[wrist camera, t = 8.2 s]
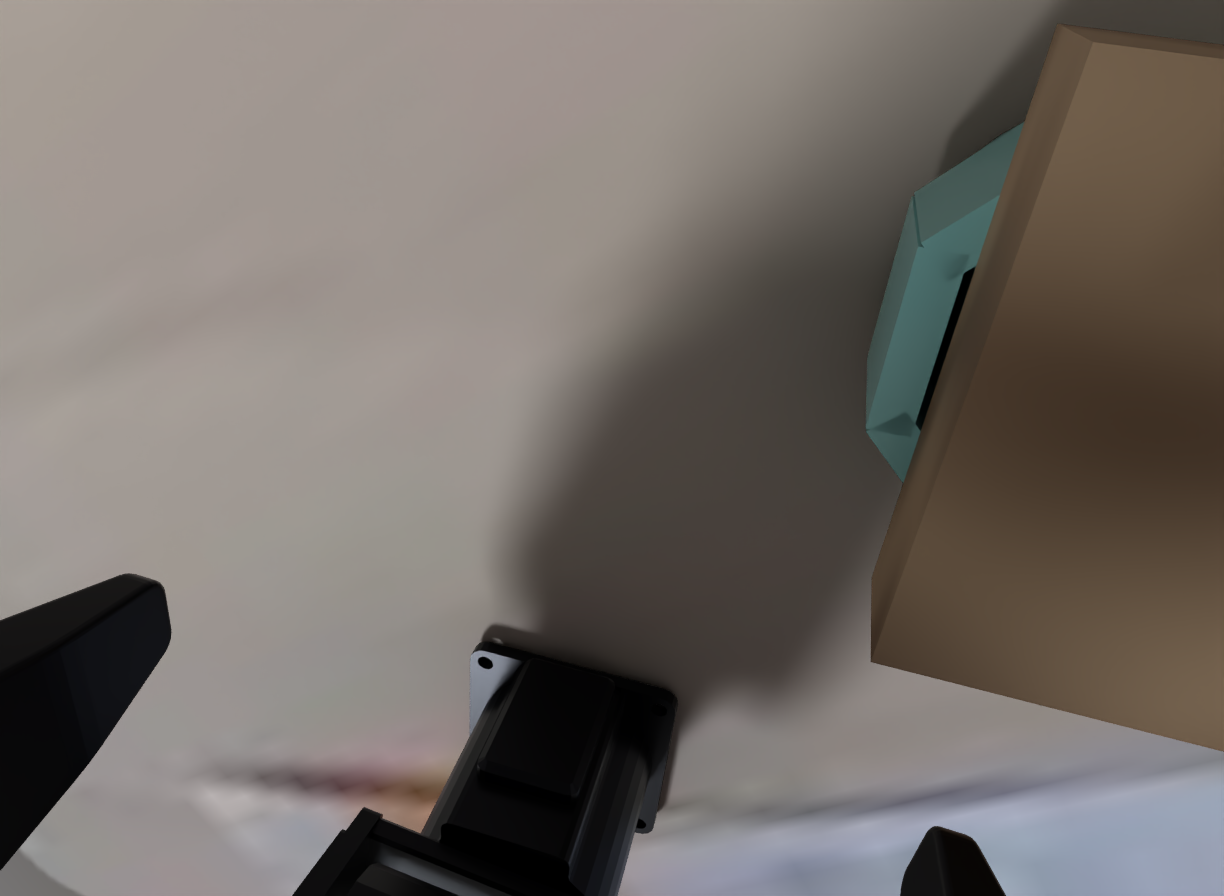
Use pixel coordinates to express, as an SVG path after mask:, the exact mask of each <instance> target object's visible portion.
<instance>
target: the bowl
mask: <svg viewBox="0 0 1224 896" xmlns="http://www.w3.org/2000/svg"><path fill="white" fill-rule="evenodd" d="M1024 122H1025V121H1024ZM1024 122H1023V123H1021V124H1019V125H1017V126H1016V127H1014V128H1012V129H1010V130H1009V131H1007V132H1005V133H1003V134H1002V135H1000V136H998V137H997V138H996V139H994V140H993V141H992V142H990V143H989V144H987V145H986V146H985V147H983V148H982V149H981V150H979V151H978V152H976V153H975V154H974V155H972V156H970V157H969V158H967V159H966V160H964V161H963V162H961V163H960V164H958V165H956V166H955V167H953V168H952V169H950V170H949V171H947V172H946V173H944V174H942V175H941V176H939V177H938V178H936V179H935V180H933V181H932V182H930V183H929V184H927V185H925V186H924V187H922V188H921V189H919V190H918V191H916V192H915V193H914V195H915V196H912V197H911V200H910V204H909V208H908V211H907V215H906V218H905V222H904V226H903V229H902V233H901V236H900V240H899V244H898V247H897V251H896V255H895V258H894V262H893V265H892V269H891V273H890V276H889V280H888V283H887V287H886V291H885V294H884V298H883V302H882V305H881V309H880V312H879V316H878V320H877V323H876V327H875V330H874V334H873V338H872V341H871V345H870V349H869V352H868V356H867V388H866V425H865V428H866V432H867V434H868V435H869V437H870V438H871V439H872V441H873V442H874V444H875V445H876V446H877V448H878V449H879V451H880V452H881V453H882V455H883V456H884V458H885V459H886V460H887V462H888V463H889V464H890V466H891V467H892V469H893V470H894V471H895V473H896V474H897V476H898V477H899V478H900V480H901V481H902V483H904V480H905V477H906V474H907V471H908V468H909V465H910V462H911V459H912V456H913V453H914V450H915V447H916V444H917V441H918V438H919V435H920V432H921V429H922V426H923V423H924V420H925V417H926V414H927V411H928V408H929V405H930V402H931V399H932V396H933V393H934V390H935V387H936V384H937V381H938V378H939V375H940V372H941V369H942V366H943V363H944V360H945V357H946V354H947V351H948V348H949V346H950V343H951V340H952V337H953V334H954V331H955V328H956V325H957V322H958V319H959V316H960V313H961V310H962V307H963V304H964V301H965V298H966V295H967V292H968V289H969V286H970V283H971V280H972V277H973V274H974V271H975V268H976V265H977V262H978V259H979V256H980V253H981V250H982V247H983V244H984V241H985V238H986V235H987V232H988V229H989V226H990V223H991V220H992V217H993V214H994V211H995V208H996V205H997V202H998V199H999V196H1000V193H1001V190H1002V187H1003V184H1004V181H1005V178H1006V175H1007V172H1008V170H1009V167H1010V164H1011V161H1012V158H1013V155H1014V152H1015V149H1016V146H1017V143H1018V140H1019V137H1020V134H1021V131H1022V128H1023V125H1024Z"/></svg>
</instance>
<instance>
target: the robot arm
mask: <svg viewBox="0 0 1224 896" xmlns="http://www.w3.org/2000/svg"><path fill="white" fill-rule="evenodd" d="M170 639H171V624H170V618H169V612H168V606H167V600H166V594H165V590H164V587H163V586H162V585H161V583H160V582H158V581H156V580H153V579H149V578H146V577H143V576H140V575H137V574H130V573H128V574H122V575H119V576H116V577H114V578H111V579H108V580H106V581H103V582H100V583H98V584H95V585H92V586H90V587H87V588H85V589H82V590H79V591H77V592H74V593H71V594H69V595H66V596H63V597H61V598H58V599H55V600H53V601H50V602H47V603H45V604H42V605H39V606H37V607H34V608H32V609H29V610H26V611H24V612H21V613H18V614H16V615H13V616H10V617H8V618H5V619H2V620H0V870H1V869H2V868H3V867H4V866H5V864H6V863H7V862H8V861H9V860H10V858H11V857H12V856H13V855H14V854H15V852H16V851H17V850H18V849H19V848H20V846H21V845H22V844H23V843H24V842H25V840H26V839H27V838H28V837H29V836H30V834H31V833H32V832H33V831H34V830H35V828H36V827H37V826H38V825H39V824H40V822H41V821H42V820H43V819H44V817H45V816H46V815H47V814H48V813H49V811H50V810H51V809H52V808H53V807H54V805H55V804H56V803H57V802H58V801H59V799H60V798H61V797H62V796H63V795H64V793H65V792H66V791H67V790H68V789H69V787H70V786H71V785H72V784H73V783H74V781H75V780H76V779H77V778H78V776H79V775H80V774H81V773H82V771H83V770H84V769H85V768H86V766H87V765H88V764H89V762H90V761H91V760H92V758H93V757H94V756H95V754H96V753H97V751H98V750H99V749H100V747H101V746H102V745H103V743H104V742H105V740H106V739H107V737H108V736H109V734H110V733H111V731H112V730H113V728H114V727H115V725H116V724H117V723H118V721H119V720H120V718H121V717H122V715H123V714H124V712H125V711H126V709H127V708H128V706H129V705H130V703H131V702H132V700H133V699H134V698H135V696H136V695H137V693H138V692H139V690H140V689H141V687H142V686H143V684H144V683H145V681H146V680H147V678H148V677H149V675H150V674H151V672H152V671H153V670H154V668H155V667H156V665H157V664H158V662H159V661H160V659H161V658H162V656H163V655H164V653H165V652H166V650H167V648H168V645H169V643H170ZM486 657H487V658H489V659H490V660H489V659H487V658H486ZM657 704H661V705H663V706H659V705H657ZM677 706H678V701H677V698H676V697H675V695H674V694H673V693H671V692H670V691H668V690H666V689H663V688H660V687H656V686H652V685H648V684H645V683H641V682H637V681H633V680H630V679H626V678H622V677H618V676H615V675H611V674H607V673H603V672H600V671H596V670H592V669H588V668H585V667H581V666H577V665H573V664H569V663H566V662H562V661H558V660H554V659H551V658H547V657H543V656H539V655H536V654H532V653H528V652H524V651H521V650H517V649H513V648H509V647H506V646H502V645H498V644H494V643H491V642H482V643H479V644H478V645H477V646H476V648H475V650H474V651H473V653H472V655H471V658H470V737H469V739H468V741H467V743H466V745H465V747H464V749H463V751H462V753H461V755H460V757H459V759H458V761H457V763H456V765H455V767H454V769H453V771H452V773H451V775H450V777H449V779H448V781H447V783H446V785H445V786H444V788H443V790H442V792H441V794H440V796H439V798H438V800H437V802H436V804H435V806H434V808H433V810H432V812H431V814H430V816H429V818H428V820H427V822H426V824H425V826H424V828H423V830H422V832H421V834H420V833H418V832H415V831H413V830H410V829H408V828H405V827H403V826H400V825H398V824H395V823H393V822H390V821H388V820H385V819H383V818H382V817H383V814H380V813H378V812H375V811H373V810H370V809H368V808H365V807H364V808H363V809H362V810H361V811H360V813H359V814H358V815H357V817H356V818H355V819H354V821H353V822H352V823H351V825H350V826H349V827H348V829H347V830H343V829H342V830H341V831H340V833H339V834H338V835H337V837H336V838H335V839H334V841H333V842H332V843H331V845H330V846H329V847H328V849H327V850H326V851H325V853H324V854H323V855H322V857H321V858H320V859H319V861H318V862H317V863H316V865H315V866H314V867H313V869H312V870H311V871H310V873H309V874H308V875H307V877H306V878H305V879H304V880H303V882H302V883H301V884H300V886H299V887H298V888H297V890H296V891H295V892H294V894H293V895H292V896H618V892H619V888H620V884H621V881H622V877H623V873H624V870H625V866H626V862H627V859H628V855H629V851H630V848H631V844H632V840H633V836H634V833H635V832H636V833H642V834H644V833H649V832H651V831H652V829H653V827H654V823H655V819H656V814H657V809H658V804H659V799H660V794H661V789H662V783H663V778H664V773H665V768H666V763H667V758H668V753H669V747H670V742H671V737H672V732H673V727H674V722H675V716H676V711H677ZM900 896H1006V895H1005V893H1004V891H1003V890H1002V888H1001V886H1000V884H999V882H998V880H997V879H996V877H995V875H994V873H993V871H992V870H991V868H990V866H989V864H988V862H987V861H986V859H985V857H984V855H983V853H982V852H981V850H980V848H979V846H978V845H977V843H976V842H975V841H974V840H973V839H972V838H971V837H969V836H967V835H965V834H962V833H959V832H955V831H952V830H949V829H946V828H943V827H940V826H934V827H932V828H930V829H929V830H928V832H927V833H926V835H925V836H924V838H923V840H922V842H921V844H920V845H919V847H918V849H917V851H916V853H915V854H914V856H913V858H912V860H911V861H910V863H909V865H908V867H907V869H906V871H905V874H904V877H903V881H902V886H901V893H900Z"/></svg>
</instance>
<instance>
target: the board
mask: <svg viewBox="0 0 1224 896" xmlns="http://www.w3.org/2000/svg"><path fill="white" fill-rule="evenodd" d="M871 662H873V663H877V664H881V665H885V666H889V667H893V668H897V669H901V670H904V671H908V672H912V673H916V674H920V675H924V676H928V677H932V678H936V679H940V680H944V681H948V682H952V683H956V684H960V685H964V686H967V687H971V688H975V689H979V690H983V691H987V692H991V693H995V694H999V695H1003V696H1007V697H1011V698H1015V699H1019V700H1023V701H1026V702H1030V703H1034V704H1038V705H1042V706H1046V707H1050V708H1054V709H1058V710H1062V711H1066V712H1070V713H1074V714H1078V715H1082V716H1086V717H1089V718H1093V719H1097V720H1101V721H1105V722H1109V723H1113V724H1117V725H1121V726H1125V727H1129V728H1133V729H1137V730H1141V731H1145V732H1148V733H1152V734H1156V735H1160V736H1164V737H1168V738H1172V739H1176V740H1180V741H1184V742H1188V743H1192V744H1196V745H1200V746H1204V747H1208V748H1211V749H1215V750H1219V751H1223V752H1224V45H1220V44H1213V43H1205V42H1197V41H1189V40H1181V39H1174V38H1166V37H1158V36H1150V35H1143V34H1135V33H1127V32H1119V31H1112V30H1104V29H1096V28H1088V27H1080V26H1073V25H1065V24H1057V26H1056V29H1055V32H1054V35H1053V38H1052V41H1051V44H1050V47H1049V50H1048V53H1047V56H1046V59H1045V62H1044V65H1043V68H1042V71H1041V74H1040V77H1039V80H1038V83H1037V86H1036V89H1035V92H1034V95H1033V98H1032V101H1031V104H1030V107H1029V110H1028V113H1027V116H1026V119H1025V122H1024V125H1023V128H1022V131H1021V134H1020V137H1019V140H1018V143H1017V146H1016V149H1015V152H1014V155H1013V158H1012V161H1011V164H1010V167H1009V170H1008V172H1007V175H1006V178H1005V181H1004V184H1003V187H1002V190H1001V193H1000V196H999V199H998V202H997V205H996V208H995V211H994V214H993V217H992V220H991V223H990V226H989V229H988V232H987V235H986V238H985V241H984V244H983V247H982V250H981V253H980V256H979V259H978V262H977V265H976V268H975V271H974V274H973V277H972V280H971V283H970V286H969V289H968V292H967V295H966V298H965V301H964V304H963V307H962V310H961V313H960V316H959V319H958V322H957V325H956V328H955V331H954V334H953V337H952V340H951V343H950V346H949V348H948V351H947V354H946V357H945V360H944V363H943V366H942V369H941V372H940V375H939V378H938V381H937V384H936V387H935V390H934V393H933V396H932V399H931V402H930V405H929V408H928V411H927V414H926V417H925V420H924V423H923V426H922V429H921V432H920V435H919V438H918V441H917V444H916V447H915V450H914V453H913V456H912V459H911V462H910V465H909V468H908V471H907V474H906V477H905V480H904V483H903V486H902V489H901V492H900V495H899V498H898V501H897V504H896V507H895V510H894V513H893V516H892V519H891V521H890V524H889V527H888V530H887V533H886V536H885V539H884V542H883V545H882V548H881V551H880V554H879V557H878V560H877V563H876V566H875V569H874V572H873V575H872V597H871Z"/></svg>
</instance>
